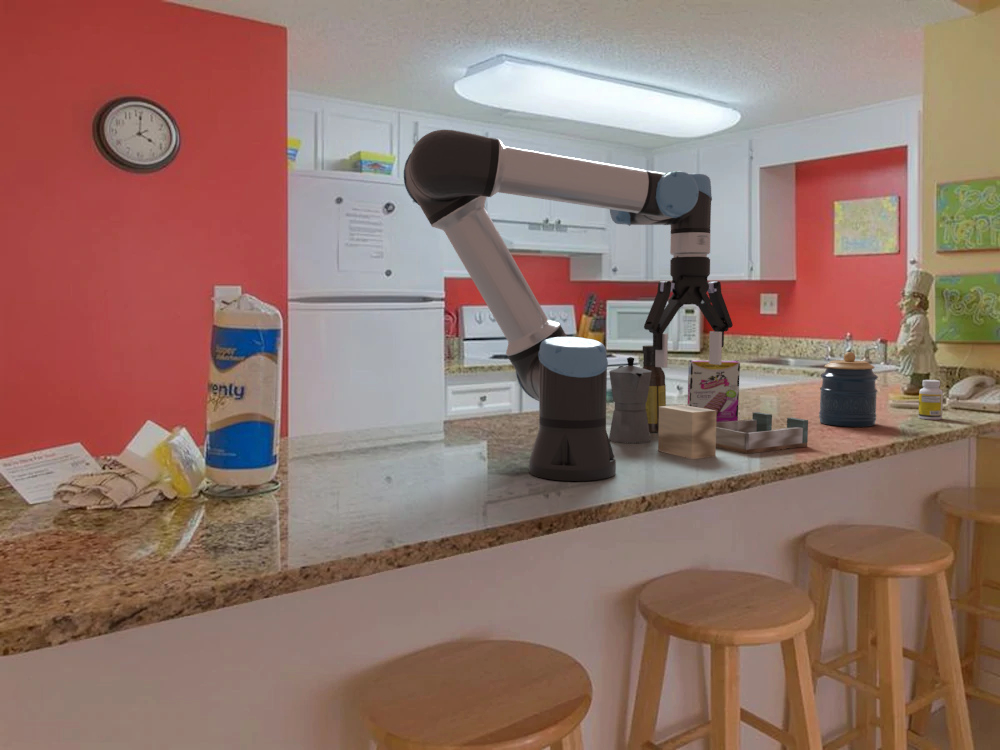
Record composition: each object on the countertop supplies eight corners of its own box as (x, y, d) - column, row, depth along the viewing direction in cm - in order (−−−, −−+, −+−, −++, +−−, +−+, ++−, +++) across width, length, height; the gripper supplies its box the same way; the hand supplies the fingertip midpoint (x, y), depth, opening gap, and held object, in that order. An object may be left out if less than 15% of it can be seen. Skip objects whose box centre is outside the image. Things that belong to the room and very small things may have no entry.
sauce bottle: (659, 428, 194) (661, 344, 192) (670, 432, 188) (671, 345, 186) (634, 429, 193) (635, 344, 191) (643, 433, 186) (644, 346, 185)
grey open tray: (746, 453, 161) (746, 426, 161) (697, 442, 173) (698, 417, 173) (807, 446, 169) (808, 420, 168) (756, 436, 181) (757, 412, 181)
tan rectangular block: (691, 459, 156) (692, 412, 155) (658, 450, 165) (658, 406, 164) (715, 456, 159) (716, 410, 158) (681, 448, 167) (682, 404, 167)
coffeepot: (660, 444, 171) (662, 359, 170) (616, 445, 170) (617, 359, 169) (638, 433, 187) (639, 354, 185) (598, 434, 185) (598, 354, 184)
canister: (808, 420, 206) (810, 350, 204) (854, 419, 208) (857, 350, 207) (838, 428, 193) (841, 353, 191) (887, 426, 195) (890, 353, 194)
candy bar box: (688, 432, 188) (690, 361, 186) (686, 429, 193) (687, 359, 191) (738, 433, 186) (740, 361, 185) (734, 429, 191) (736, 359, 190)
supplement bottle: (923, 416, 213) (925, 379, 212) (945, 418, 209) (947, 380, 208) (914, 418, 210) (916, 380, 209) (936, 420, 205) (938, 381, 204)
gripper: (651, 254, 149) (650, 369, 151) (752, 256, 161) (750, 364, 163) (626, 256, 156) (625, 367, 158) (725, 258, 167) (723, 361, 169)
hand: (688, 365), depth 160 cm, fingers open, 13 cm apart
